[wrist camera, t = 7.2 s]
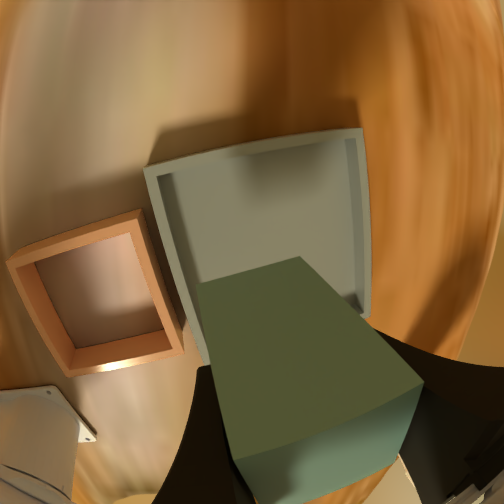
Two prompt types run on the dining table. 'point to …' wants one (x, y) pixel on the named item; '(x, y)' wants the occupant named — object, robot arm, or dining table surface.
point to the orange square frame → (53, 329)
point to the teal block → (302, 382)
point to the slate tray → (266, 213)
